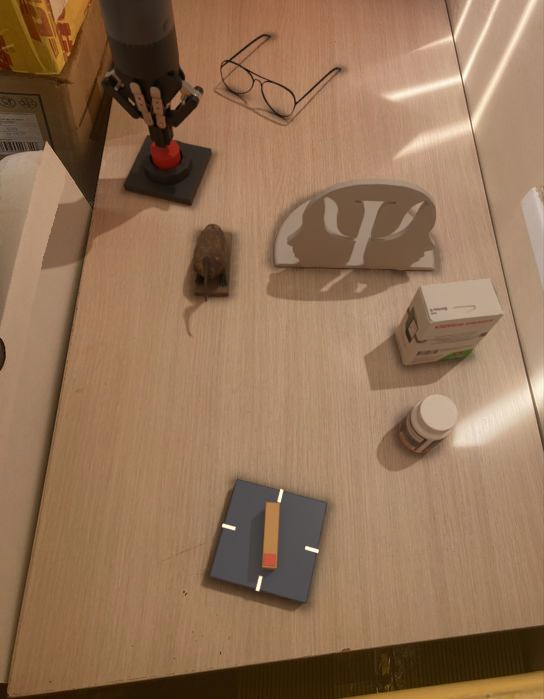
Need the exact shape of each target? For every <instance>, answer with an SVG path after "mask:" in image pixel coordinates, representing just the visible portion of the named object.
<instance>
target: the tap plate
mask: <svg viewBox="0 0 544 699" xmlns="http://www.w3.org/2000/svg"><path fill="white" fill-rule="evenodd" d="M233 486H234V487H233V490H232V493H231V497H230V501H229V503H228V507H227V511H226V516H225V518H224V521H223V523H222V525H221V528H222V529H221V533H220V536H219V539H218V544H217V546H216V550H215V554H214V557H213V561H212V565H211V568H210V572H209V577H210V578H213V579H215V580H220V581H223V582H227V583H230V584H233V585H237V586H241V587H245V588H248V589H251V590H255V591H256V592H261V593H262V592H263V593H266V594H269V595H273V596H275V597H276V596H277V597H279V598H284V599H287V600H291V601H294V602H298V603H301V604H307V603H308V599H309V594H310V590H311V585H312V580H313V575H314V569H315V566H316V561H317V554H319V552H320V549H319V545H320V541H321V536H322V530H323V526H324V521H325V517H326V513H327V512H326V511H327V507H328V506H327V505H328V502H326V501H324V500H323V501H322V500H319V499H315V498H311V497H307V496H303V495H300V494H296V493H293V492H288V491H285V490H284V489H283V488H280V489H277V488H273V487H270V486H266V485H261V484H258V483H254V482H251V481H247V480H243V479H239V478H236V480H235V483H234V485H233ZM266 502H275V503H280V513H279V534H278V554H277V568H276V569H275V570H264V569H262V551H263V535H264V518H265V505H266Z"/></svg>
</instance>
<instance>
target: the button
mask: <svg viewBox="0 0 544 699" xmlns="http://www.w3.org/2000/svg"><path fill="white" fill-rule="evenodd" d="M175 140H176V139H172V141H171V143H170V145H168V146H167V148H162V147H158V146H155V142H153V143H152V145H151V147H150V152H151V156H152V160H153V163H154V165H155V166H156V167H158V168H160V169H164V170H167V169H172V168H175V167H176V166H177V165H178V164H179V163H180V161H181V156H180V150H179V145H178V143H177V142H176V141H175Z"/></svg>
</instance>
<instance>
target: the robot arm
mask: <svg viewBox="0 0 544 699" xmlns="http://www.w3.org/2000/svg"><path fill="white" fill-rule="evenodd" d="M97 1H98V6H99V10H100V16H101V19H102V22H103V26H104V30H105V33H106V37H107V42H108V45H109V49H110V53H111V57H112V60H113V63H114V65H113V67H110V68H108V70H107V72H106V73H105V74H104V76H103V78H102V81H101V82H100V84H101V86H102V87H103V88H102V89H104V90H105V91H106V92H107V93H108V94H109V95H110V97H112V98H113V99H114V100H115V101H116V102H117V103H118V104H119V105H120V107H121V108H123V109H124V110H125V111H126V113H128V115H129V116H130V117H131V118H133V119H134V120H139V119H142V120H143V121H144V123H145V125H146V126H147V128H148V133H149V134H148V135H150V138H151V140H152V141H153V142H155V146H158V147H162V148H167V146H168V145H170V143H171V141H172V139H173V138H174V128H178V127H179V126H180V125H182V123H183V122H184V121H185V120H186V119H187V118H188V117H189V116H190V115H191V114H192V113H193V111H195V110H196V109H197V107H198V106H199V105H200V104H199V103H200V102H201V99H202V97H203V95H204V92H205V91H204V89H203V88H202V86H200V85H195V86H192V85H191V84H190V83H188V82H187V81H186V74H185V72H184V70H183V69H182V67H181V65H180V52H179V45H178V38H177V30H176V22H175V15H174V8H173V7H174V6H173V1H172V0H97ZM179 92H180V93H181V95H180V102H179V103H178V104H177V106H176V107H175V108H174V109H172V101H173V99H174V98H175V97H176V96H177V95H178V93H179ZM173 140H174V139H173Z"/></svg>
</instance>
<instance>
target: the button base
mask: <svg viewBox="0 0 544 699" xmlns="http://www.w3.org/2000/svg"><path fill="white" fill-rule="evenodd" d="M174 140H175V141H176V142H177V143H178V145H179V150H180V156H181V161H180V163H179V164H178V165H177V166H176V167H175V168H172V169H167V170H164V169H160V168H158V167H156V166H155V165H154V163H153V160H152V156H151V152H150V147H151V145H152V143H153V141H152V140H151V138H150V134H147V135H146V137H145V139H144V141H143V143H142V145H141V147H140V149H139V151H138V153H137V156H136V158H135V159H134V161H133V164H132V166H131V168H130V170H129V172H128V174H127V176H126V178H125V180H124V182H123V188H124V191H126V192H130V193H135V194H138V195H143V196H147V197H152V198H156V199H160V200H161V199H162V200H165V201H170V202H175V203H179V204H183V205H189V206H192V205H193V202H194V199H195V197H196V195H197V192H198V190H199V187H200V185H201V182H202V180H203V177H204V175H205V173H206V171H207V168H208V165H209V163H210V161H211V158H212V155H213V153H212V152H213V151H212V148H211V147H205V146H201V145H196V144H190V143H188V142H182V141H181V140H176V139H174Z"/></svg>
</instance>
